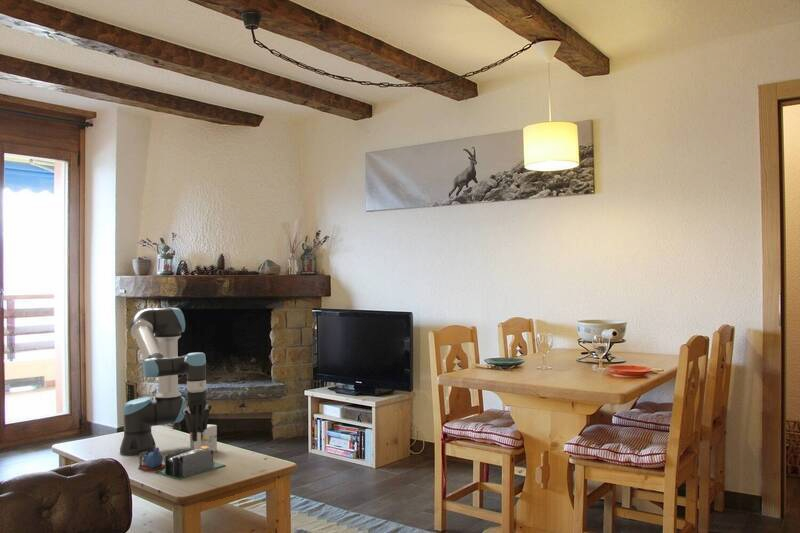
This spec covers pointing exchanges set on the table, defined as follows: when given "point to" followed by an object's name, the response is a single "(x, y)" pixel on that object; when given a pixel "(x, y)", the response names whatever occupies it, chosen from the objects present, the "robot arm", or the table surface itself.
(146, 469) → the model
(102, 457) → the table surface
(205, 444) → the ink box
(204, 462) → the heatsink base
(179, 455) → the white flat bar
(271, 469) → the table surface
